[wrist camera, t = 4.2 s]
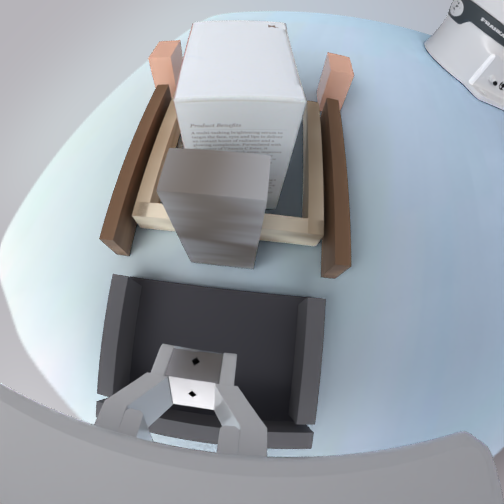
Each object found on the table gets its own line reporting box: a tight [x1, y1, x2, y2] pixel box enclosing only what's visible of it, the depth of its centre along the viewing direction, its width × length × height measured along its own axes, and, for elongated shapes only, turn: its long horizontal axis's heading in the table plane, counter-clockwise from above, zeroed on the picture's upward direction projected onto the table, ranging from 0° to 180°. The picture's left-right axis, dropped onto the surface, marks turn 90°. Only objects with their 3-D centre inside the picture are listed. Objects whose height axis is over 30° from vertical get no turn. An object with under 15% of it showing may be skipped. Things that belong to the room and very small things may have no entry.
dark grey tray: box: [96, 274, 326, 449], centre depth 15 cm, size 12×9×3 cm
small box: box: [173, 20, 307, 209], centre depth 16 cm, size 8×6×10 cm
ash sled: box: [132, 90, 324, 269], centre depth 17 cm, size 12×14×9 cm
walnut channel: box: [99, 84, 351, 278], centre depth 20 cm, size 15×14×3 cm
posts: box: [148, 40, 354, 111], centre depth 22 cm, size 17×3×5 cm, turn 84°
